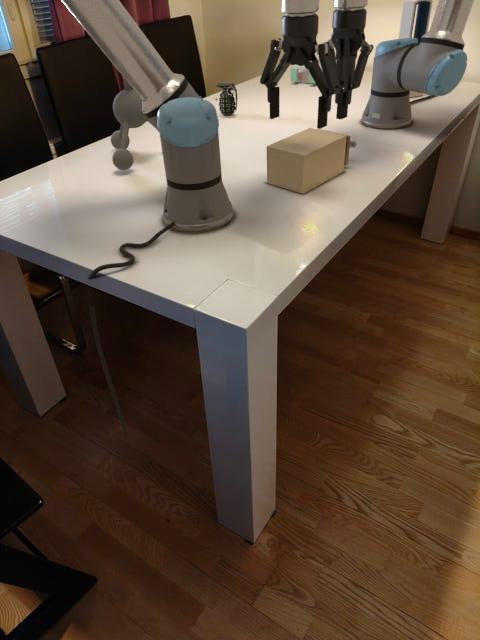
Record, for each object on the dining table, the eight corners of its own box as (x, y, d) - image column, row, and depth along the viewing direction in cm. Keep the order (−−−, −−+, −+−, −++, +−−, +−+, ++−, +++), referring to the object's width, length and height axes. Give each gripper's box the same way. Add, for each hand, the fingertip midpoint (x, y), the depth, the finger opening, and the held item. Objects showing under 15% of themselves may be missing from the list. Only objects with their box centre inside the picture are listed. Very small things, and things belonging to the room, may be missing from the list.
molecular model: (196, 161, 135) (182, 37, 116) (116, 176, 129) (90, 48, 110) (173, 138, 152) (159, 27, 134) (102, 149, 146) (77, 35, 128)
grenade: (217, 117, 168) (214, 86, 162) (221, 112, 172) (219, 82, 166) (235, 117, 166) (233, 86, 160) (239, 113, 171) (238, 82, 165)
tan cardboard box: (308, 162, 130) (309, 127, 125) (343, 171, 124) (346, 135, 119) (266, 183, 121) (266, 146, 115) (302, 194, 115) (304, 155, 109)
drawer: (329, 150, 135) (331, 123, 130) (360, 157, 129) (363, 129, 125) (278, 175, 122) (278, 145, 118) (310, 184, 117) (312, 154, 112)
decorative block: (312, 54, 215) (354, 57, 206) (311, 70, 219) (352, 74, 210) (281, 65, 199) (325, 69, 190) (281, 83, 203) (324, 87, 194)
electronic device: (393, 99, 175) (406, 0, 157) (383, 94, 181) (394, -2, 162) (424, 95, 177) (441, -3, 159) (413, 90, 183) (428, -5, 165)
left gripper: (363, 13, 94) (353, 127, 107) (265, 9, 108) (266, 110, 121) (342, 18, 90) (334, 136, 103) (242, 13, 104) (246, 117, 117)
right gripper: (384, 7, 108) (372, 118, 123) (335, 5, 115) (328, 110, 130) (366, 11, 104) (355, 125, 118) (316, 9, 111) (312, 117, 126)
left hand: (297, 122), depth 112 cm, fingers open, 13 cm apart
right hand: (341, 117), depth 124 cm, fingers closed
